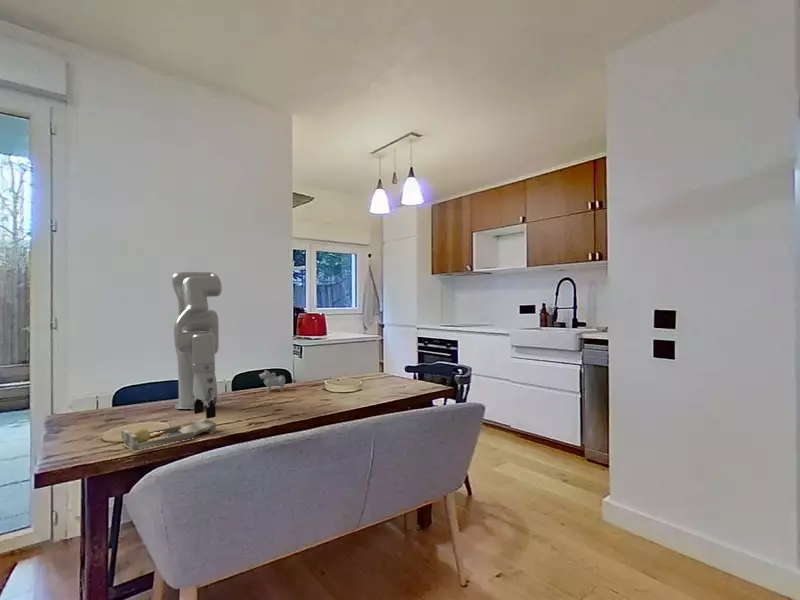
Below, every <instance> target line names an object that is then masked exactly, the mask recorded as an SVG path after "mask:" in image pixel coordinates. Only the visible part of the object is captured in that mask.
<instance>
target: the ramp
mask: <svg viewBox="0 0 800 600" xmlns="http://www.w3.org/2000/svg"><path fill="white" fill-rule="evenodd" d="M177 431H178V432H179V433H181V434H183V433H187V432H192V431H193V432H194V436H196V435H199V434H201V433H203V432H206V431H207V432H206V433H208V432H209V433H208V434H210V433H212V434H215V433H214V432H216V433H217V424H216V422H213V421H212V420H208V419H207V418H202V419H200V420H197V421H196V422H193V423H191V424H189V425H186V426H184V427H181V429H179V430H177Z"/></svg>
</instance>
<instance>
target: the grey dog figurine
mask: <svg viewBox="0 0 800 600" xmlns="http://www.w3.org/2000/svg"><path fill="white" fill-rule="evenodd" d="M258 375H259V378H260V379H261V380H263V383H264V385H265V386H267V391H266V392H267V393H270V392H271V388H272V386H273V387H274V386H276V387H280V392H284V387H285V383H286V377H285V375H279V376H276V372H272V373H271V372H270V371H269V370H264V372H262V373H259V374H258Z"/></svg>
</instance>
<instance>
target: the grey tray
mask: <svg viewBox="0 0 800 600" xmlns="http://www.w3.org/2000/svg"><path fill="white" fill-rule="evenodd" d="M181 428H182V426H181V425H174V426H169V427H165V428H160V429H156V430H152V431H149V433H153V432H160V431H165V434H167V433H172V432H177V430H179V429H181ZM191 437H192V438H194V439H195V435H194V432H193V431H192V432H187V433H183V434H179V435H174V436H170V437H165V438H161V439H157V440H152V441H148V442H143V443H139V444H138V436H136V435H134V432H133V433H132V432H131V431H129V430H127V429H121V440H122V439H123V442H124V443H125V444H126V445H127V446H128V447H130V448H131V449H132V450H134V451H135V450H140V449H144V448H149V447H154V446H157V445H161V444H166V443H170V442H174V441H180V440H183V439H184V440H185V439H186V440H187V439H192V438H191Z"/></svg>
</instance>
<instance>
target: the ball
mask: <svg viewBox="0 0 800 600" xmlns="http://www.w3.org/2000/svg"><path fill="white" fill-rule="evenodd" d="M149 432H150V431H149V430H148V429H146V428H138V429H136V430H134V432H133V434H134V435H136V436H138V444H139V443H143V442H147V441H148V440H149V438H150V433H149Z"/></svg>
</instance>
